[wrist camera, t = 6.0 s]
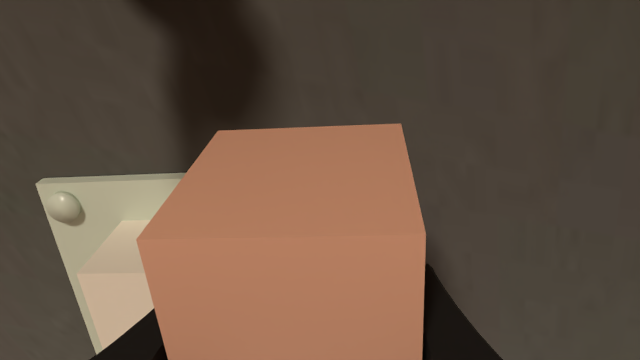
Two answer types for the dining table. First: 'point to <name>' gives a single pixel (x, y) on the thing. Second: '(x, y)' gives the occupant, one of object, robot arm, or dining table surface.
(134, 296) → the bottom brick
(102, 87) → the dining table surface
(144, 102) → the dining table surface
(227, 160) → the top brick
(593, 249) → the dining table surface
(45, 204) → the baseplate
